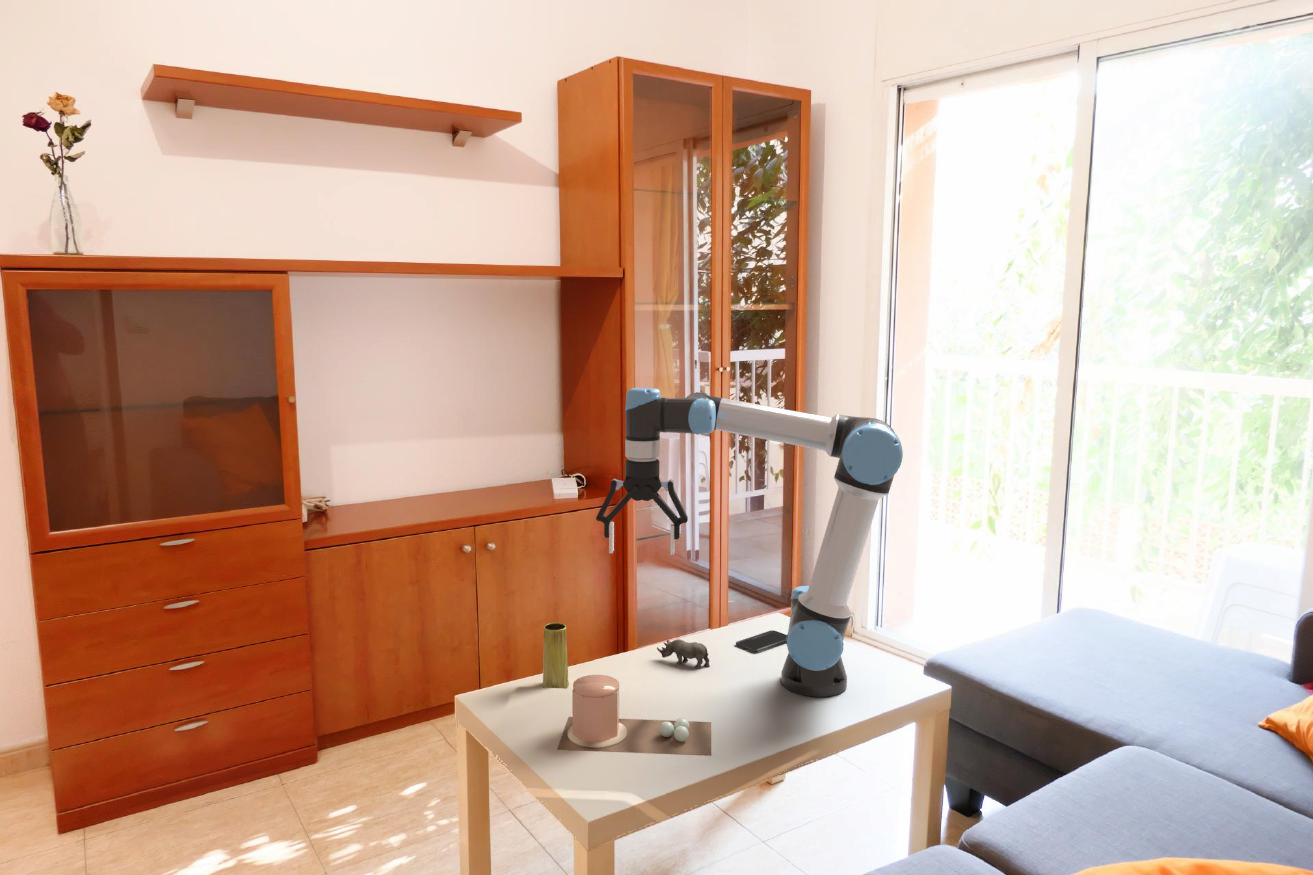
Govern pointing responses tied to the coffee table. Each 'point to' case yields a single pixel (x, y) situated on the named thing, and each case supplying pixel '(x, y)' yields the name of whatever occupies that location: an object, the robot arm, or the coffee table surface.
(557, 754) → the coffee table surface
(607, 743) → the coaster
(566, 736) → the board
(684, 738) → the marble
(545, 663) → the vase
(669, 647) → the rhino figurine
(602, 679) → the domed lid canister
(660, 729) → the marble
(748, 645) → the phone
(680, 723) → the marble
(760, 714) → the coffee table surface
